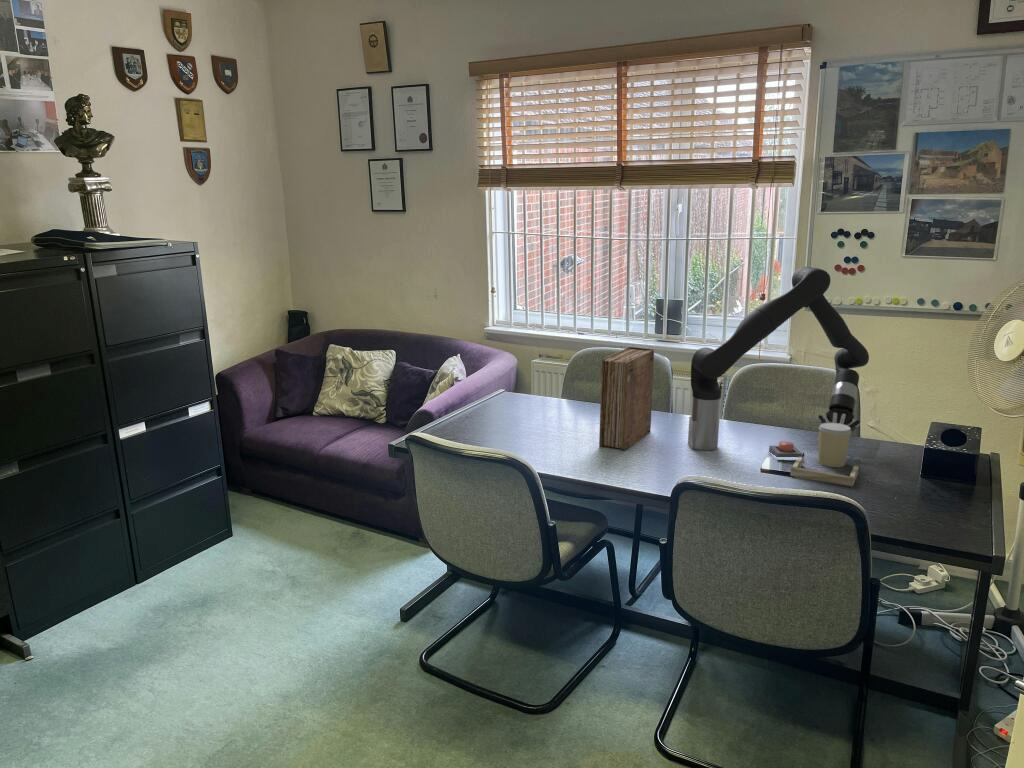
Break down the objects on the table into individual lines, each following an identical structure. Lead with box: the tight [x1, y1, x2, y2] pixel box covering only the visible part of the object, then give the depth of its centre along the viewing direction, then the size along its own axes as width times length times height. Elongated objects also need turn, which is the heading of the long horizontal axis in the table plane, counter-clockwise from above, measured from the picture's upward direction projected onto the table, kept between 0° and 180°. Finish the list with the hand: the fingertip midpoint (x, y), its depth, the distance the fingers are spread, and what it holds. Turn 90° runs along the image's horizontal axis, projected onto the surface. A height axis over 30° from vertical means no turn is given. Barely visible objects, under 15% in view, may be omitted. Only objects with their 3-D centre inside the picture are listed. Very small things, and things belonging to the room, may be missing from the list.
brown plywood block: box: [598, 346, 655, 452], centre depth 259 cm, size 25×9×30 cm, turn 151°
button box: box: [768, 445, 804, 458], centre depth 245 cm, size 8×8×2 cm
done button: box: [778, 441, 795, 452], centre depth 244 cm, size 4×4×3 cm
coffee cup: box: [817, 422, 852, 468], centre depth 238 cm, size 9×9×12 cm
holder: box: [790, 457, 859, 487], centre depth 228 cm, size 12×17×2 cm
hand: (834, 444), depth 242 cm, fingers closed
